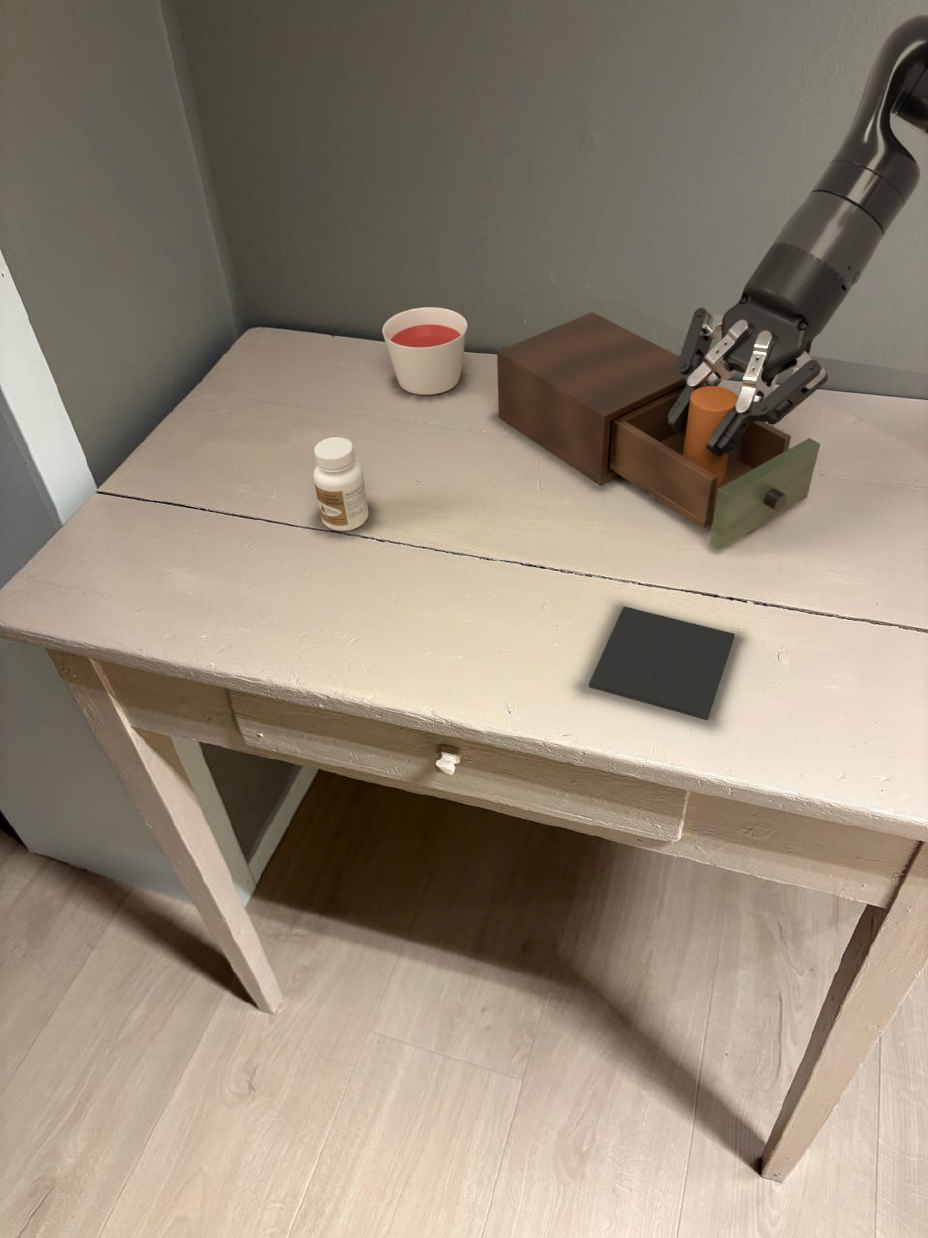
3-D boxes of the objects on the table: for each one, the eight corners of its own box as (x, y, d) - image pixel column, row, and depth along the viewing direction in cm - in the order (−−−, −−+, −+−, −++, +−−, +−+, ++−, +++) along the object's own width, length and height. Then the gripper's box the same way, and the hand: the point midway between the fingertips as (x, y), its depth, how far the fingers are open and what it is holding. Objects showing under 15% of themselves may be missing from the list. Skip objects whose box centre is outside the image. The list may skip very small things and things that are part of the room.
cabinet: (694, 436, 96) (703, 368, 90) (600, 485, 91) (604, 416, 85) (589, 376, 105) (592, 311, 100) (498, 417, 100) (496, 351, 95)
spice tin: (729, 466, 88) (742, 390, 83) (719, 491, 86) (732, 413, 80) (686, 458, 90) (696, 382, 84) (675, 482, 87) (685, 405, 82)
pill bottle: (312, 519, 89) (298, 449, 84) (347, 497, 91) (335, 427, 86) (343, 538, 87) (331, 468, 81) (378, 515, 89) (369, 445, 84)
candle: (373, 392, 105) (367, 339, 100) (412, 353, 110) (407, 301, 106) (447, 408, 102) (444, 354, 97) (483, 367, 107) (481, 314, 103)
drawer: (817, 503, 86) (832, 449, 82) (730, 557, 81) (740, 502, 77) (688, 430, 95) (695, 377, 91) (603, 473, 90) (606, 421, 86)
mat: (734, 637, 75) (734, 633, 75) (707, 720, 70) (708, 715, 69) (623, 610, 78) (623, 605, 78) (589, 687, 72) (589, 682, 72)
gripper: (730, 217, 82) (616, 392, 85) (872, 271, 73) (739, 463, 77) (762, 260, 87) (654, 422, 91) (897, 314, 79) (772, 491, 82)
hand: (693, 440), depth 84 cm, fingers closed on spice tin, 4 cm apart
